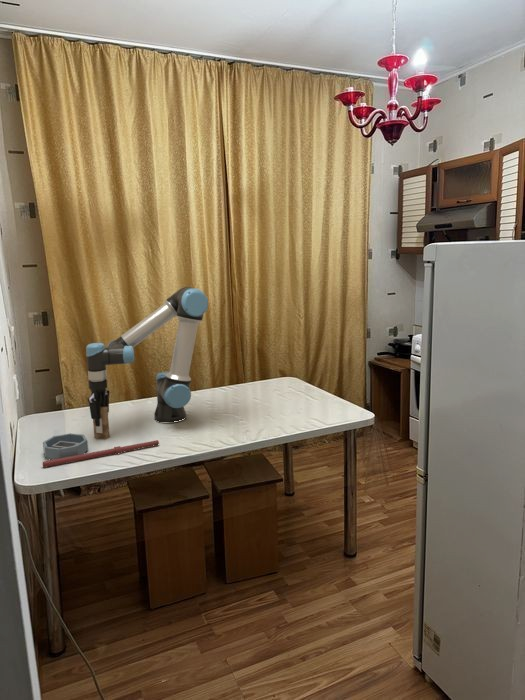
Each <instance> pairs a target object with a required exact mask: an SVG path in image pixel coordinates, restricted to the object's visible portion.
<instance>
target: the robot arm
mask: <svg viewBox="0 0 525 700" xmlns="http://www.w3.org/2000/svg"><path fill="white" fill-rule="evenodd" d="M208 309H209V299H208V297H207V295H206V294H205V292H204V291H202V290H200V289H199V288H195V287H192V286H184V287H180V288H179V289H178V290H176V292H174V293H173V294H171V296H169V297H168V298H167V299H165V301H164V303H163V304H162V305H161V306H160V307H158V308H156V310H154V311H152V312H151V313H150V314H149V315H147V316H146V317H144V319H141V320H140V321H139V322H138V323H137V324H135V325H134V326H132V327H131V328H129V329H128V330H127V331H125V332H124V333H123V334H122V335H121V336H119V337H117V338H116V339H113V340H110V341H108V344H107V347H106V346H105V344H104V343H102V342H93V343H92V342H91V343H89V344H87V345H86V347H85V350H86V352H85V355H86V357H85V358H86V365H87V377H88V378H87V379H88V389H89V390H90V392H91V393H90V395H91V396H90V397H88V398H87V402H88V404H89V406H88V407H89V412H90V417H91V419H92V420H93V419H95V425H96V433H103V430H102V418H100V406H104V407H108V414H109V413H110V390H107V388H108V379H107V377H108V375H107V366H111V365H113V366H114V365H123V364H124V365H125V364H132V363H134V362H135V351H134V348H135V347H136V346H137V345H139V344H140V343H141V342H143V341H144V340H145V339H147V338H148V337H149V336H150V335H152V334H153V333H155V332H156V331H157V330H159V329H160V328H162V327H163V326H164V325H166V324H167V323H168V322H169V321H171V320H172V319H173V318H175V317H176V318H177V319H178V325H177V331H176V336H175V342H174V347H173V352H172V358H171V363H170V369H169V371H162V372H161V371H160V372H159V373H157V374H156V376H155V381H156V398H157V399H156V401H157V402H156V403H157V404H156V408H155V411H154V416H153V417H154V418H153V419H154V421H155V420H157V421H159V422H158V423H160V422H174V421H179V420H182V419H184V418H185V417H186V418H187V411H186V410H185V406H186V405H188V403H189V402H190V401H191V397H192V392H191V391H192V390H191V388H190V387H191V382H192V378H191V376H190V370H191V365H192V359H193V354H194V348H195V344H196V338H197V337H196V336H197V332H198V327H199V324H200V323H201V322H203V319H204V314H205V313H206V312H207V310H208ZM186 418H185V419H186ZM185 419H184V420H185ZM157 421H156V422H157ZM182 421H183V420H182Z"/></svg>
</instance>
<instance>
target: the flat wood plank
mask: <svg viewBox="0 0 525 700" xmlns="http://www.w3.org/2000/svg"><path fill="white" fill-rule="evenodd" d="M100 418H102V430H103V433H96V425H95V419H92V425H93V436H94V439H98V440H99V439H100V440H107V439H109V438H111V437H110V435H111V434H110V425H109V424H110V422H109V413H108V407H104V406H100Z"/></svg>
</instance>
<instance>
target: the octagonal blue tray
mask: <svg viewBox="0 0 525 700" xmlns="http://www.w3.org/2000/svg"><path fill="white" fill-rule="evenodd" d="M42 449H43V453H44V457H45V458H46V459H47V458H48V459H47V460H49V459H51V460H54V459H59V458H65V457H70V456H75V455H81V454H84V453H85V454H86V453H87V452H86V451H88V450H89V443H88V439H87V437H86V436H85V434H81V433H80V434H79V433H71V432H69V433H65V434H59V435H53V436H51V437H50V438H47V440H44V441H43V442H42Z"/></svg>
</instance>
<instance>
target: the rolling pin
mask: <svg viewBox="0 0 525 700" xmlns="http://www.w3.org/2000/svg"><path fill="white" fill-rule="evenodd" d="M158 444H159V445H160V442H159V440H151V441H145V442H141V443H136V444H131V445H130V444H129V445H125V446H121V445H119V446H114V447H113V448H107V449H104V450H98V451H93V452H88V453H87V452H86V453H85V454H81V455H75V456H70V457H65V458H59V459H54V460H49V459H48V460H45V461H44V460H43V461H42V463H41V464H42V468H47V467H46V466H49V467H53V466H52V465H54V466H58V464H59V465H64V463H65V464H68V463H69V462H70V463H75V462H79V461H84V460H90V458H91V459H96V458H99V457H101V458H102V457H104V456H105V455H106V456H110V454H112V455H116V454H117V455H119V454H118V453H121V452H122V453H125V452H124V451H127V452H130V451H129V450H132V451H135V450H134V449H138V448H142V447H148V446H153V445H158ZM159 445H158V446H159ZM153 447H154V446H153ZM148 448H149V447H148ZM138 450H139V449H138ZM115 453H116V454H115ZM122 453H121V454H122ZM95 457H96V458H95ZM70 463H69V464H70Z"/></svg>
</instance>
